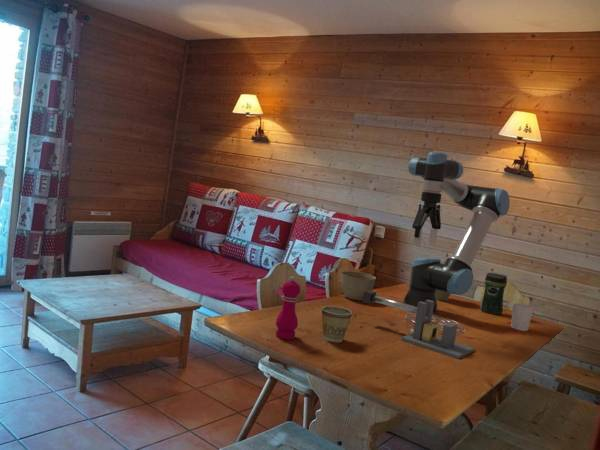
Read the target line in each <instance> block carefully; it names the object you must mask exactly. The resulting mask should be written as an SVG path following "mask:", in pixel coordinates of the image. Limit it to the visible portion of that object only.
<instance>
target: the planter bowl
mask: <svg viewBox="0 0 600 450" xmlns="http://www.w3.org/2000/svg"><path fill="white" fill-rule="evenodd" d="M376 281H377V277H376V276H374V275H372V274H369V273H365V272H360V271H350V270H342V271H341V272H340V285H341V289H342V291H343V293H344V297H345V298H347V299H350V300H354V301H355V300H356V301H363V298H364V292H365V291H373V288H374V287H375V283H376Z"/></svg>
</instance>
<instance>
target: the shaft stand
mask: <svg viewBox="0 0 600 450" xmlns="http://www.w3.org/2000/svg"><path fill="white" fill-rule="evenodd" d="M433 307H434V301H431V300H425V302H418V306H417V312H416V314H415V320H414V325H413V326H414V327H413V332H412V333H410V334H407V335H404V336H402V337H401V339H400V340H401V341H403V342H406V343H408V344H412V345H415V346H419V347H422V348H423V349H427V350H429V351H430V350H431V351H433V352H437V353H440V354H443V355H446V356H448V357H451V358H454V359H461V358H463V357H465V356H468V355H469V354H470V353H473V352H475V348H474V347H472V346H468V345H466V344H462V343H460V342H456V338H457V337H456V336H457V332H458V331H457V329H458V323H457V324H456V323H453V322H449V323H446V324H443V328H442V333H441V337H440V336H437V340H435V341H432V342H430V343H429V342H426V341H423V340H421V339H422V333H423V326H424V323H427V322H430V321H432V319H433V314H434V312H433Z"/></svg>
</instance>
